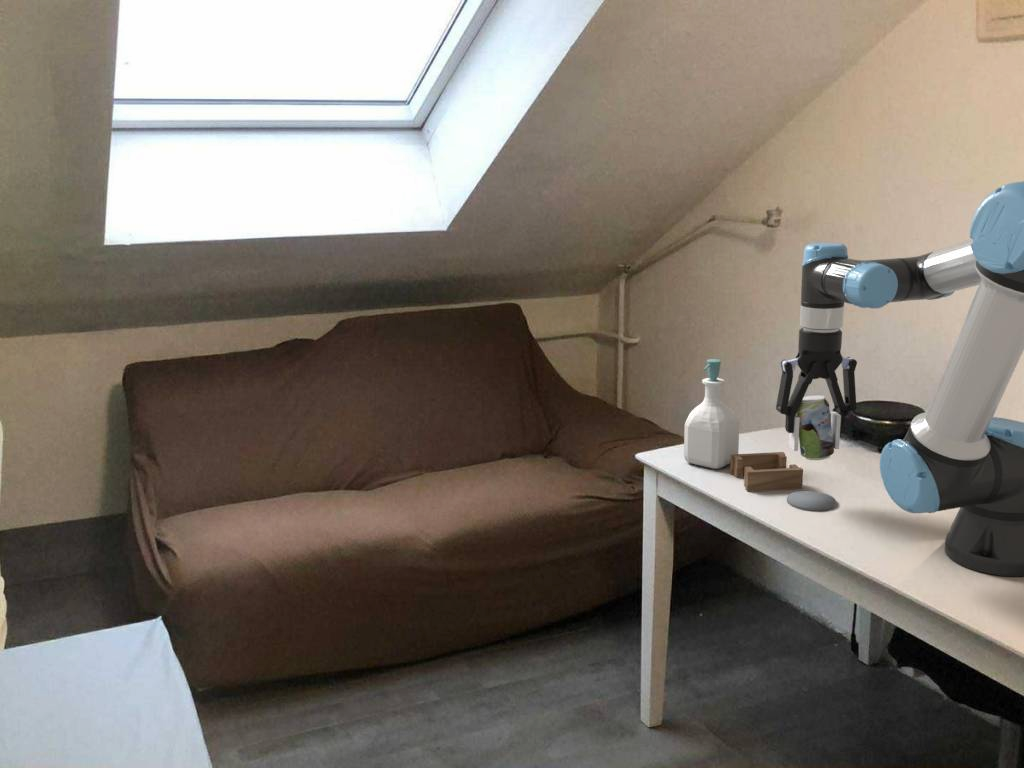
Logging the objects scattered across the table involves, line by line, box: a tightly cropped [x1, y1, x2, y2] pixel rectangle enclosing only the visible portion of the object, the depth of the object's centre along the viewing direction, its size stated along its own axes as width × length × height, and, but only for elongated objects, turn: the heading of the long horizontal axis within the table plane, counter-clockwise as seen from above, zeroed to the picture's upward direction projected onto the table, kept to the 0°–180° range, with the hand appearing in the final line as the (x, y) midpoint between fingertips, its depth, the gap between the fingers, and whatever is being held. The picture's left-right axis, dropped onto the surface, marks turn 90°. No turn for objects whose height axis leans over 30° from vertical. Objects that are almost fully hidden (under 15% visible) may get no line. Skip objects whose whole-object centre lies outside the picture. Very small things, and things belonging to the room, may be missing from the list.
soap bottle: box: [683, 358, 740, 470], centre depth 205 cm, size 10×10×23 cm
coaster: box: [786, 490, 837, 512], centre depth 184 cm, size 9×9×1 cm
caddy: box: [729, 451, 804, 492], centre depth 195 cm, size 11×11×4 cm
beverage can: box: [796, 394, 835, 461], centre depth 180 cm, size 6×7×12 cm
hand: (813, 447), depth 181 cm, fingers closed on beverage can, 7 cm apart
